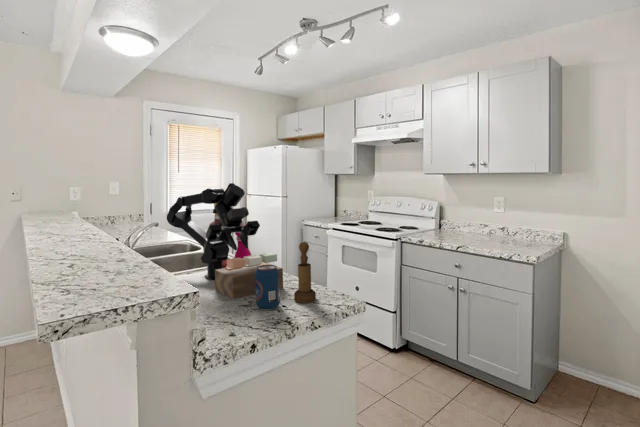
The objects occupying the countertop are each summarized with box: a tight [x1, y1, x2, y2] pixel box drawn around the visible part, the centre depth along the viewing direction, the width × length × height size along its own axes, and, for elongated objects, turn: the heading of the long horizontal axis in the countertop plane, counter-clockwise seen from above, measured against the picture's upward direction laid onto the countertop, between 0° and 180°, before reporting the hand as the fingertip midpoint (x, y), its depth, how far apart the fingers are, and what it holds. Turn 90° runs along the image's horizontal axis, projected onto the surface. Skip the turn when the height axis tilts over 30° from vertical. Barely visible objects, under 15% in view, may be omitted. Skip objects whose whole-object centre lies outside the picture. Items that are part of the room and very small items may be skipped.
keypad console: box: [214, 262, 284, 300], centre depth 127 cm, size 14×18×7 cm
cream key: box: [244, 254, 262, 266], centre depth 124 cm, size 4×4×2 cm
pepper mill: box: [234, 221, 252, 259], centre depth 157 cm, size 7×7×20 cm
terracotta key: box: [226, 257, 246, 269], centre depth 120 cm, size 4×4×2 cm
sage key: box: [258, 252, 278, 264], centre depth 128 cm, size 4×4×2 cm
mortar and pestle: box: [293, 241, 317, 304], centre depth 114 cm, size 7×6×18 cm
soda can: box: [255, 264, 281, 311], centre depth 108 cm, size 7×7×12 cm
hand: (241, 248), depth 128 cm, fingers open, 4 cm apart
